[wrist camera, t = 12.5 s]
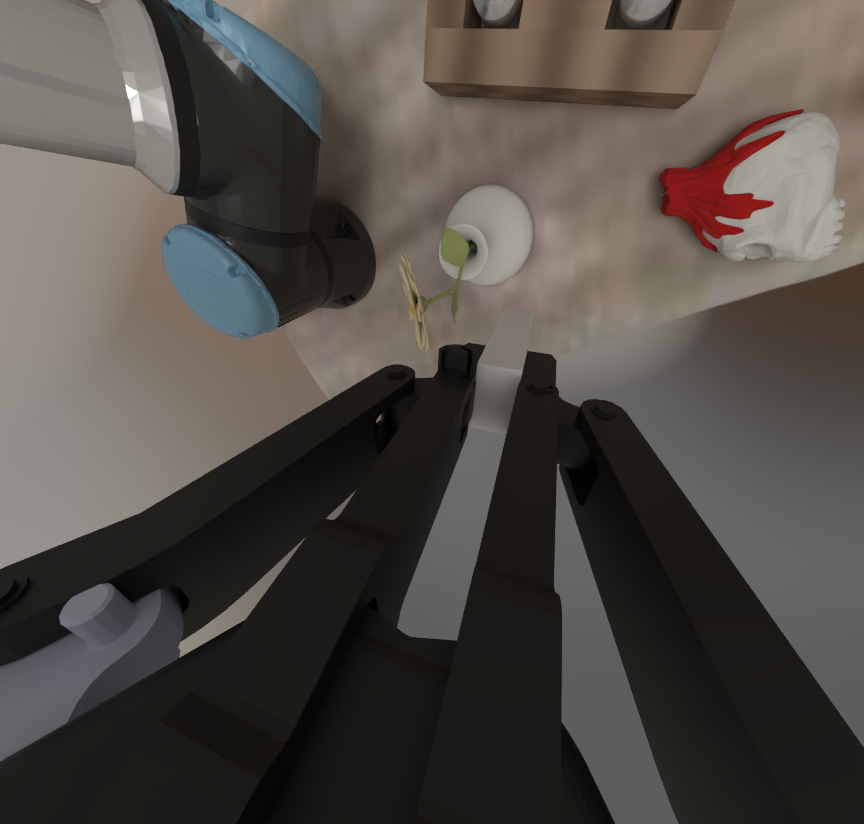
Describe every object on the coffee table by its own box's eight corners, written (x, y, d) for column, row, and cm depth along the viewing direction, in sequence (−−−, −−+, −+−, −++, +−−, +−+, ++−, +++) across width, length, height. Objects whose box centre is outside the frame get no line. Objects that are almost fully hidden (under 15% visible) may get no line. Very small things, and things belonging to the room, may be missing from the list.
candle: (800, 254, 33) (635, 251, 39) (881, 107, 27) (670, 129, 33) (843, 272, 27) (637, 264, 33) (963, 82, 20) (681, 115, 26)
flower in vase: (457, 175, 40) (352, 160, 20) (549, 195, 38) (529, 201, 19) (438, 282, 48) (349, 346, 28) (513, 304, 46) (473, 387, 26)
